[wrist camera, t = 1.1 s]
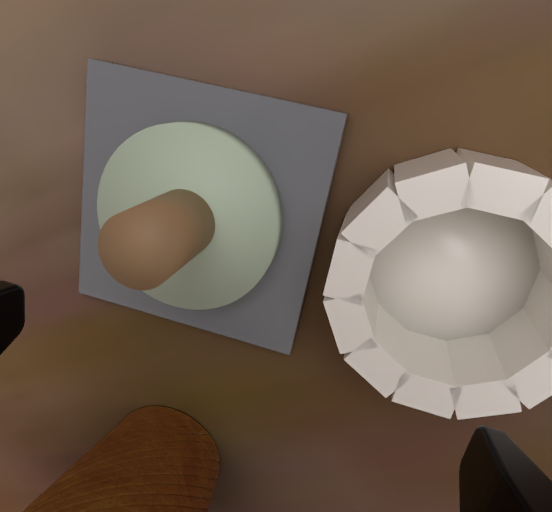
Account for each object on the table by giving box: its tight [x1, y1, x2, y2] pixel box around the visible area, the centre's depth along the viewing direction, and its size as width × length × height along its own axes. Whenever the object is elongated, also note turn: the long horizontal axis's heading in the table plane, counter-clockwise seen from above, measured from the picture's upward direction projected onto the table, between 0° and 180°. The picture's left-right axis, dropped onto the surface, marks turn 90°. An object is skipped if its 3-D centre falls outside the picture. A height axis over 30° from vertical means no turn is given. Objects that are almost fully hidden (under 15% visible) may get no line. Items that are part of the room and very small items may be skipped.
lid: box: [97, 121, 283, 310], centre depth 18 cm, size 8×8×5 cm
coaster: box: [79, 58, 349, 355], centre depth 21 cm, size 11×11×1 cm
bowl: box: [323, 148, 552, 420], centre depth 18 cm, size 9×9×4 cm
